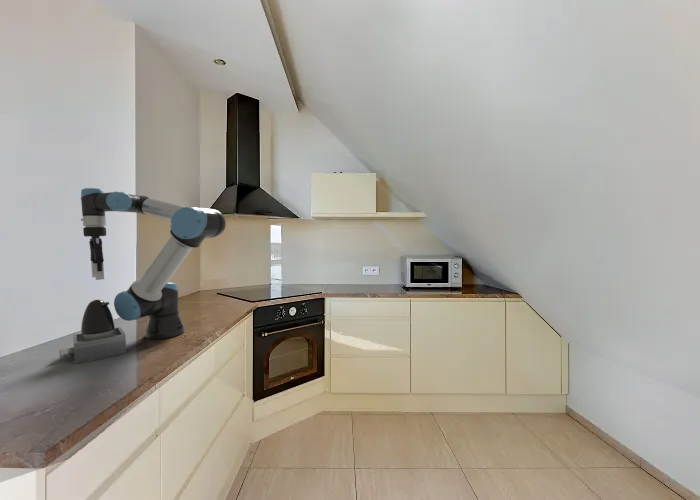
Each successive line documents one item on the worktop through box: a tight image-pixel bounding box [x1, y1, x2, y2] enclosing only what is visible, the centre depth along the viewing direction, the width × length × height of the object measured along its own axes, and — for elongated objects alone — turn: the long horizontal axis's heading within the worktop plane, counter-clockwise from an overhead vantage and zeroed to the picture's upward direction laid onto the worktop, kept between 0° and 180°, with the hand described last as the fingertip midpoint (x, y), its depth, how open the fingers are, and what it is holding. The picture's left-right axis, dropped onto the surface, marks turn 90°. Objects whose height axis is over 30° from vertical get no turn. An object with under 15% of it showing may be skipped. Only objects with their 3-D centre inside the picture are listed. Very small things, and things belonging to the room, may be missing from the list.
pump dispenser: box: [80, 299, 116, 341], centre depth 129 cm, size 10×10×15 cm
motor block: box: [59, 326, 128, 364], centre depth 128 cm, size 19×15×7 cm
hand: (98, 278), depth 142 cm, fingers open, 13 cm apart
